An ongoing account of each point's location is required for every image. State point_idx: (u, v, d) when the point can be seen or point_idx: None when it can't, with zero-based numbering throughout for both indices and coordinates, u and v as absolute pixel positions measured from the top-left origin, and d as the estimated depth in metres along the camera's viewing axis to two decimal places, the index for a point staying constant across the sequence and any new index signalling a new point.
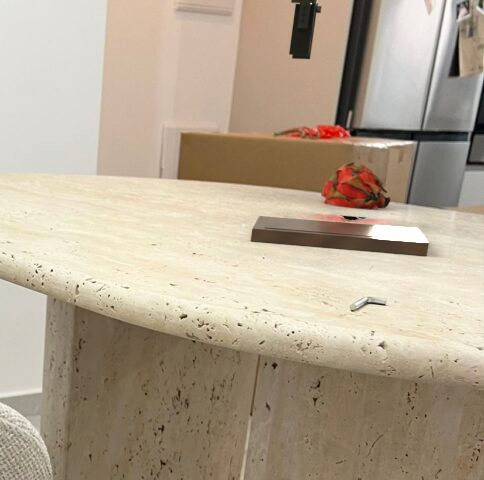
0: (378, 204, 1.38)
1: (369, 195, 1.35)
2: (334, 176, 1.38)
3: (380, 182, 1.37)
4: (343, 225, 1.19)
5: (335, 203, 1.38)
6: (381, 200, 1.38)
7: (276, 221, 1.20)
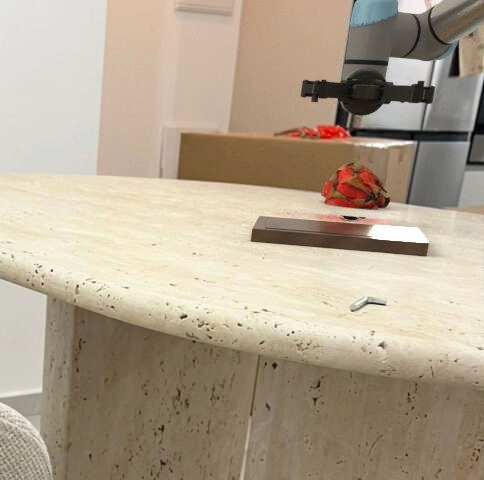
0: (378, 204, 1.38)
1: (369, 195, 1.35)
2: (334, 176, 1.38)
3: (380, 182, 1.37)
4: (343, 225, 1.19)
5: (335, 203, 1.38)
6: (381, 200, 1.38)
7: (276, 221, 1.20)
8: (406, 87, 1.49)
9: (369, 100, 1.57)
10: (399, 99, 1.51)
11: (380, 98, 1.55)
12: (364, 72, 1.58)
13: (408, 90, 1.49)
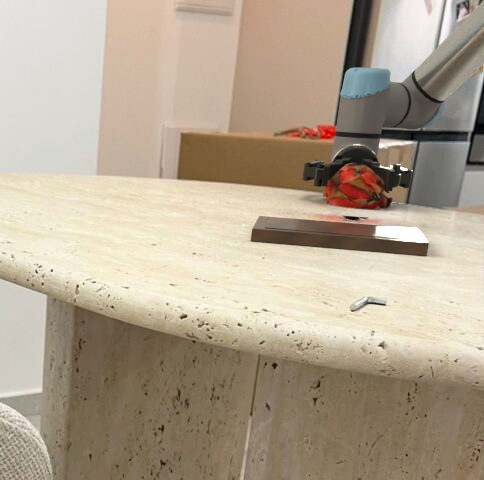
0: (380, 204, 1.38)
1: (371, 195, 1.34)
2: (336, 176, 1.38)
3: (382, 182, 1.37)
4: (343, 225, 1.19)
5: (337, 203, 1.38)
6: (383, 201, 1.38)
7: (276, 221, 1.20)
8: (385, 170, 1.41)
9: None
10: None
11: None
12: (355, 149, 1.50)
13: (386, 173, 1.41)
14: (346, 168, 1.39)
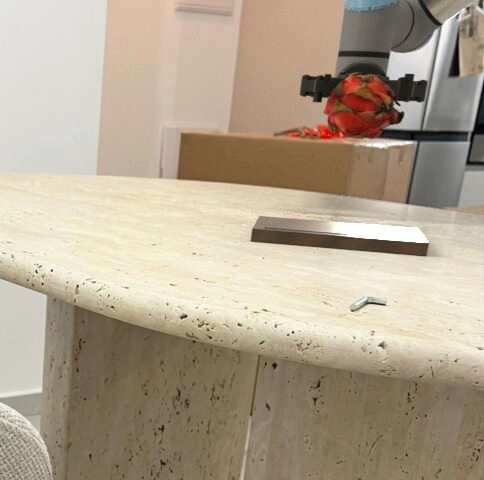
0: (390, 120, 1.18)
1: (380, 106, 1.15)
2: (339, 87, 1.19)
3: (392, 93, 1.17)
4: (343, 225, 1.19)
5: (340, 119, 1.19)
6: (393, 115, 1.18)
7: (276, 221, 1.20)
8: (395, 82, 1.22)
9: None
10: None
11: None
12: (360, 65, 1.31)
13: (396, 85, 1.21)
14: (350, 79, 1.20)
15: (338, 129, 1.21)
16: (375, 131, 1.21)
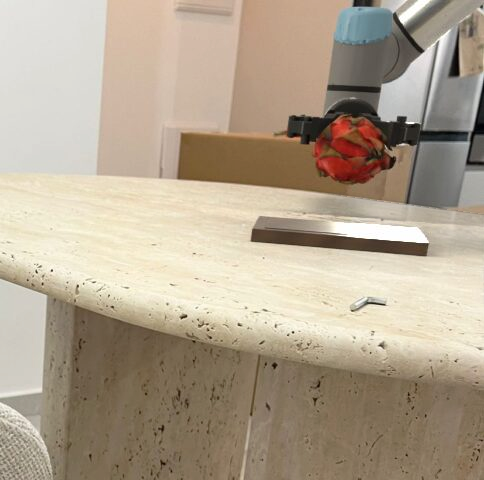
0: (381, 165, 1.12)
1: (370, 152, 1.09)
2: (327, 131, 1.12)
3: (384, 137, 1.11)
4: (343, 225, 1.19)
5: (328, 163, 1.12)
6: (385, 160, 1.12)
7: (276, 221, 1.20)
8: (387, 124, 1.15)
9: None
10: None
11: None
12: (350, 102, 1.25)
13: (388, 128, 1.15)
14: (340, 121, 1.13)
15: (327, 173, 1.15)
16: (366, 176, 1.14)
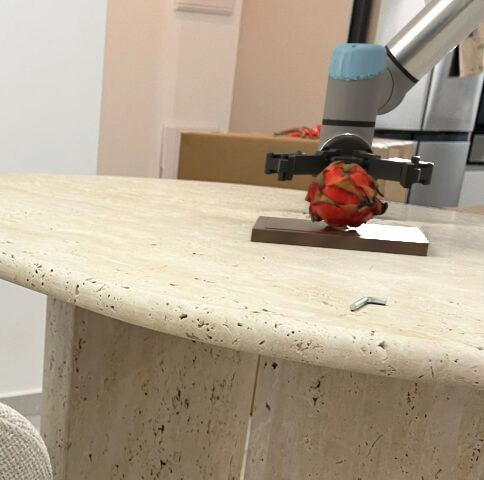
0: (373, 211, 1.14)
1: (362, 200, 1.10)
2: (320, 177, 1.14)
3: (376, 184, 1.13)
4: None
5: (321, 209, 1.14)
6: (377, 206, 1.14)
7: (276, 221, 1.20)
8: (397, 163, 1.18)
9: None
10: (388, 177, 1.19)
11: None
12: (345, 139, 1.27)
13: (399, 167, 1.17)
14: (332, 167, 1.15)
15: (320, 218, 1.17)
16: (358, 221, 1.16)
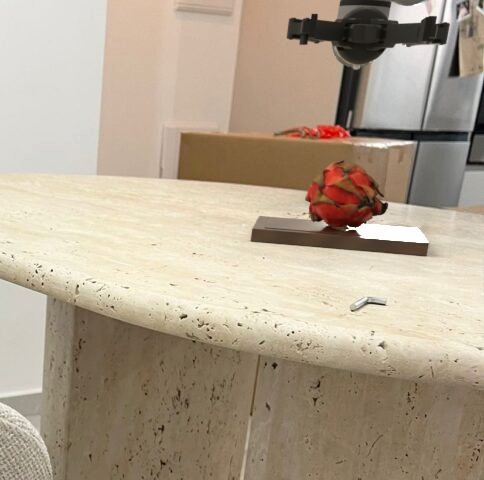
0: (373, 211, 1.14)
1: (362, 200, 1.10)
2: (320, 177, 1.14)
3: (376, 184, 1.13)
4: None
5: (321, 209, 1.14)
6: (377, 206, 1.14)
7: (276, 221, 1.20)
8: (414, 25, 1.23)
9: (369, 44, 1.30)
10: (406, 40, 1.25)
11: (382, 41, 1.29)
12: (363, 10, 1.32)
13: (417, 28, 1.23)
14: (332, 167, 1.15)
15: (320, 218, 1.17)
16: (358, 221, 1.16)
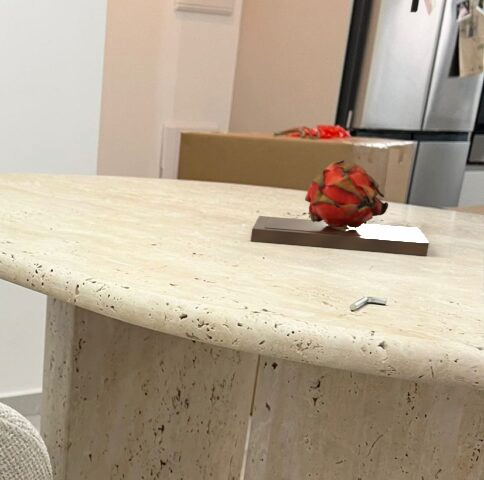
0: (373, 211, 1.14)
1: (362, 200, 1.10)
2: (320, 177, 1.14)
3: (376, 184, 1.13)
4: None
5: (321, 209, 1.14)
6: (377, 206, 1.14)
7: (276, 221, 1.20)
8: None
9: None
10: None
11: None
12: None
13: None
14: (332, 167, 1.15)
15: (320, 218, 1.17)
16: (358, 221, 1.16)
